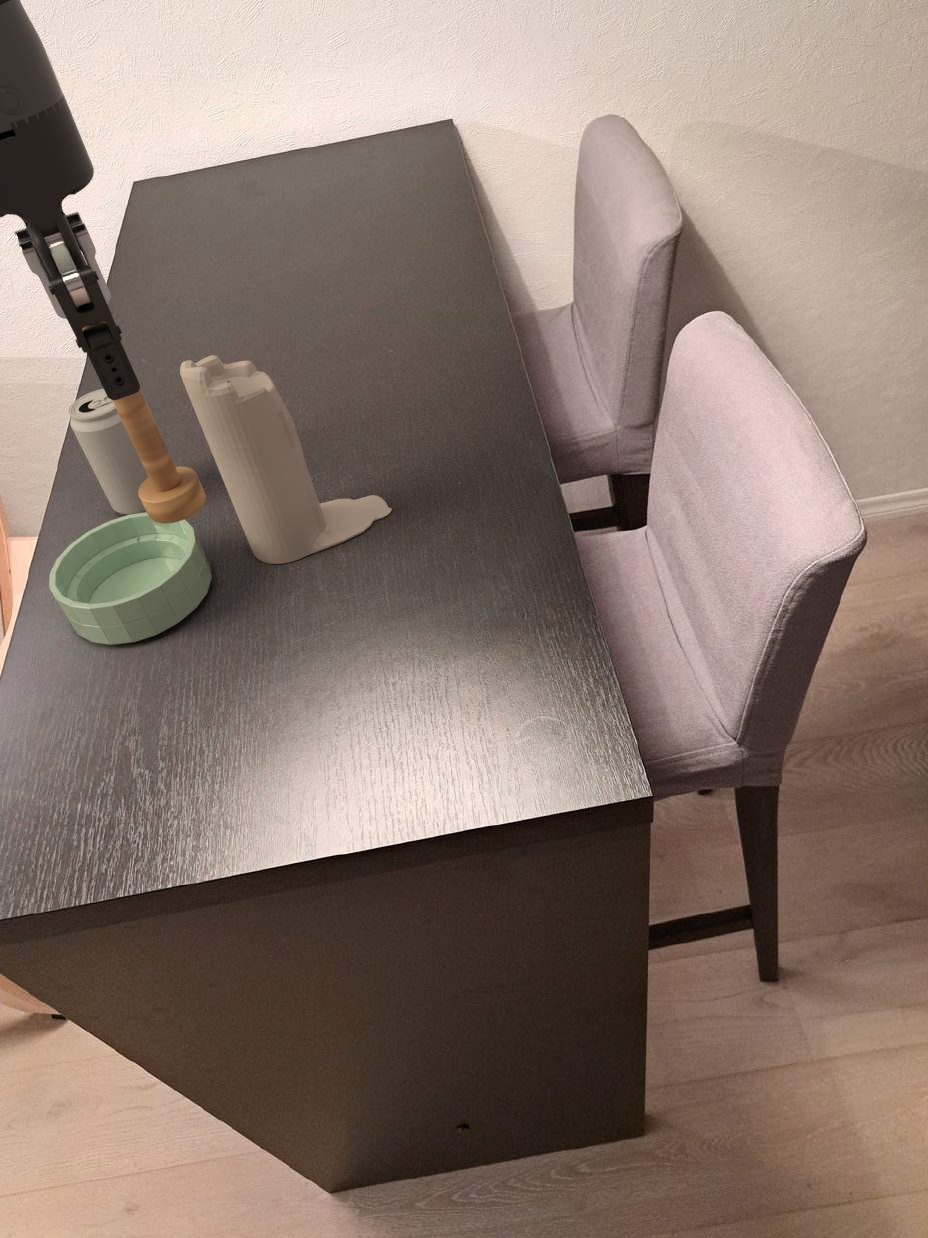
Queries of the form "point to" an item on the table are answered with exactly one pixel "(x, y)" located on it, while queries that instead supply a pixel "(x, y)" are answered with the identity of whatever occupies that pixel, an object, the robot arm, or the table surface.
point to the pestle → (158, 465)
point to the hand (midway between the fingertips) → (121, 385)
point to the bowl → (130, 579)
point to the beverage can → (109, 450)
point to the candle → (268, 464)
